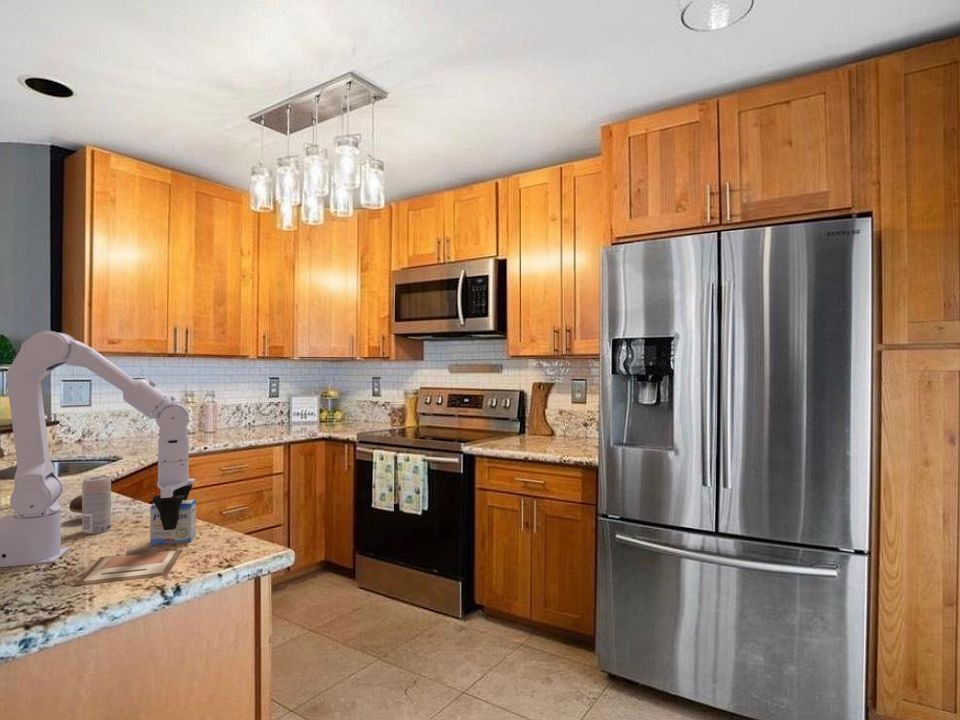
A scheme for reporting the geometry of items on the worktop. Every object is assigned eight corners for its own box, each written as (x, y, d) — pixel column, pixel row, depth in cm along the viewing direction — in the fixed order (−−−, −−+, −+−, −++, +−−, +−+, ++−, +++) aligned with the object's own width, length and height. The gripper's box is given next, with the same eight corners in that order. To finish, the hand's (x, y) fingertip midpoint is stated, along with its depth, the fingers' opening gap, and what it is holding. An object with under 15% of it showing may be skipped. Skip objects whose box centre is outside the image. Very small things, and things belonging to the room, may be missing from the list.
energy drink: (106, 526, 131) (106, 474, 131) (114, 531, 127) (114, 478, 127) (78, 532, 127) (78, 478, 127) (86, 536, 123) (86, 482, 123)
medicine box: (149, 548, 116) (149, 506, 116) (155, 541, 120) (155, 500, 120) (191, 544, 118) (191, 503, 118) (196, 538, 123) (196, 498, 122)
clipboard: (73, 589, 95) (73, 579, 95) (101, 561, 108) (101, 552, 108) (167, 579, 99) (167, 569, 99) (182, 553, 113) (182, 544, 113)
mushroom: (115, 515, 140) (115, 490, 140) (94, 524, 132) (94, 498, 132) (82, 515, 140) (82, 490, 140) (59, 525, 132) (59, 498, 132)
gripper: (188, 464, 114) (188, 532, 114) (199, 453, 127) (200, 513, 127) (148, 467, 111) (148, 535, 111) (164, 455, 125) (164, 516, 125)
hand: (173, 524), depth 119 cm, fingers open, 7 cm apart
